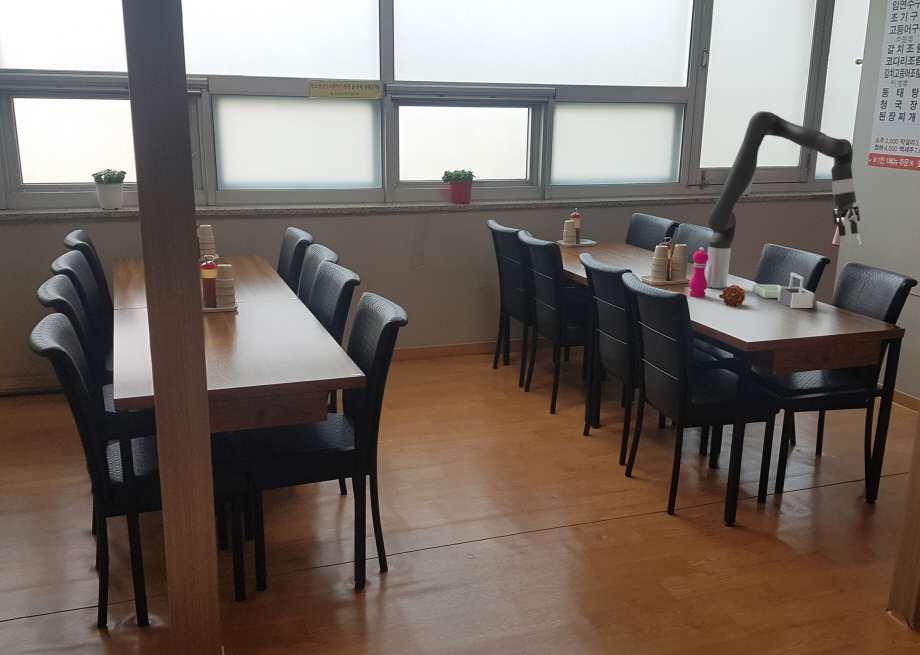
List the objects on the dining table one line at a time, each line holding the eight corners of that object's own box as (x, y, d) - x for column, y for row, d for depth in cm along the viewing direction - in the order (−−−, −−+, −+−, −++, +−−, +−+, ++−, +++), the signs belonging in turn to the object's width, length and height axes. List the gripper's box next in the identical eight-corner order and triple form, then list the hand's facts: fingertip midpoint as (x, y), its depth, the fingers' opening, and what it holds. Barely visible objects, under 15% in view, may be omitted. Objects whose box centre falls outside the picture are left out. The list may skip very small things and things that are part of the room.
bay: (791, 308, 307) (793, 293, 305) (778, 301, 319) (779, 286, 318) (812, 309, 307) (814, 293, 306) (798, 301, 319) (800, 287, 318)
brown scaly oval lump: (735, 312, 305) (724, 309, 317) (754, 299, 305) (742, 297, 317) (723, 294, 304) (712, 292, 316) (742, 281, 304) (730, 280, 316)
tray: (764, 298, 324) (765, 291, 323) (752, 291, 337) (752, 284, 336) (790, 299, 324) (791, 291, 323) (777, 291, 337) (778, 284, 336)
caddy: (789, 307, 308) (793, 277, 305) (779, 302, 318) (783, 272, 315) (807, 308, 308) (811, 277, 305) (796, 302, 318) (800, 272, 315)
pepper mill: (704, 294, 329) (709, 246, 324) (707, 298, 322) (712, 248, 317) (686, 293, 330) (691, 245, 325) (689, 297, 323) (694, 248, 318)
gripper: (844, 192, 309) (849, 234, 310) (824, 195, 301) (828, 237, 302) (863, 189, 303) (868, 231, 304) (843, 191, 295) (848, 235, 296)
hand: (848, 234), depth 303 cm, fingers open, 8 cm apart
